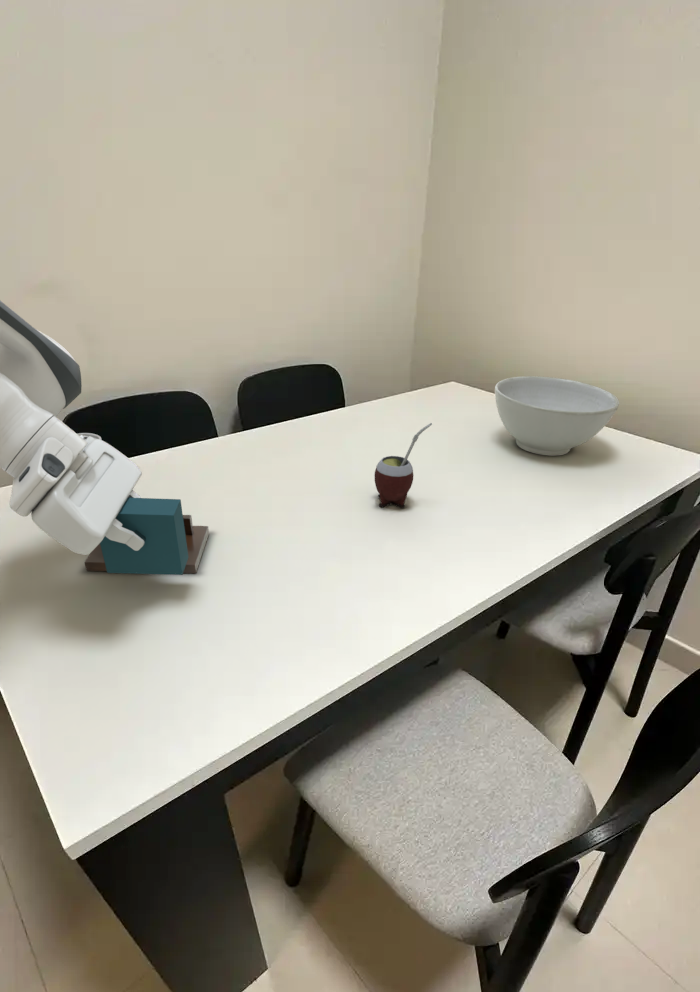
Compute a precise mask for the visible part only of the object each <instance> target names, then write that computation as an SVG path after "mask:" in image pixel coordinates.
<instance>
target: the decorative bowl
mask: <svg viewBox="0 0 700 992" xmlns="http://www.w3.org/2000/svg"><path fill="white" fill-rule="evenodd" d="M494 399H495V406H496V409H497V413H498V416H499V418H500V420H501V423H502V425H503V426H504V428H505V429H506V431H507V432H508V434H510V435H511V436H512V437H513V438H514V439H515V443H516V445H517V446H518V448H521V449H522V450H524V451H526V452H528V453H532V454H536V455H541V456H550V457H551V456H552V457H553V456H563V455H566V454H568V453H569V452H570V451H571V449H574V448H576V447H578V446H580V445H582V444H585V443H586V442H588V441H590V440H591V439H592V438H593V437H595V436H596V435H597V434H599V432H601V431H602V430H603V429H604V428H605V426H606V425H608V423H609V422H610V421H611V419H612V418H613V416H614V415H615V414H616V412H617V410H618V409H619V407H620V400H619V399H618V397H617V396H616V395H615V394H614V393H612V392H610V391H608V390H606V389H604V388H601V387H599V386H596V385H593V384H590V383H586V382H583V381H577V380H573V379H567V378H562V377H561V378H560V377H553V376H540V375H539V376H538V375H537V376H536V375H535V376H534V375H526V376H525V375H524V376H523V375H522V376H512V377H508V378H504V379H501V380H499V381H498V382H497V383H496V384H495V386H494Z"/></svg>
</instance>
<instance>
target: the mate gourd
mask: <svg viewBox="0 0 700 992" xmlns="http://www.w3.org/2000/svg"><path fill="white" fill-rule="evenodd" d="M432 425H433V423H432V422H430V423H428V424H426V426H424V427H422V428H421V429H420V430H419V431H418V432H416V434H414V436H412V437H413V438H412V439H411V440H412V441H411V443H410V445H409V447H408V449H407V452H406V453H405V457H403V456H399V455H388V456H385V457H382V458H381V459H380V460H379V462H378V463H377V464H376V468H375V470H374V484H375V488H376V491H377V492H378V496H377V498H379V499H380V503H379V504H378V507H379V508H385V507H387V506H390V505H393V506H396V507H397V508H400V509H405V508H406V504H405V501H406V499H407V496H408V493H409V492H410V490H411V487H412V485H413V481H414V468H413V465H412V463H411V461H410V460H408V458H409V456H410V454H411V453H412V450H413V448H414V446H415V443H417V441H418V439H419V436H420V435H422V433H423V432H425V431H426V430H427V429H428V428H430V427H431V426H432Z"/></svg>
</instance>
